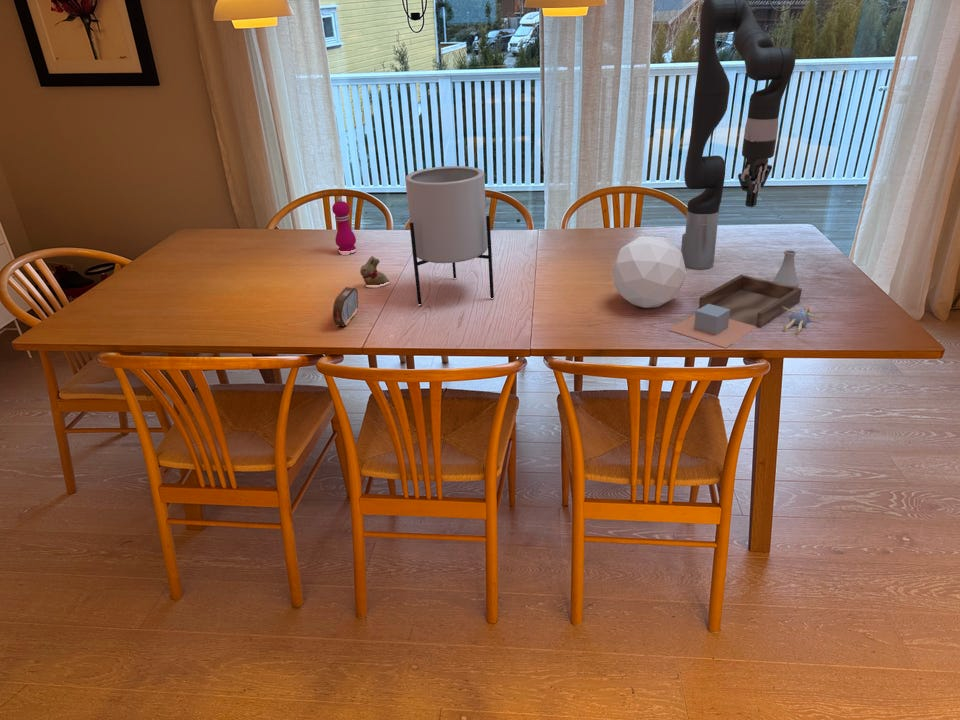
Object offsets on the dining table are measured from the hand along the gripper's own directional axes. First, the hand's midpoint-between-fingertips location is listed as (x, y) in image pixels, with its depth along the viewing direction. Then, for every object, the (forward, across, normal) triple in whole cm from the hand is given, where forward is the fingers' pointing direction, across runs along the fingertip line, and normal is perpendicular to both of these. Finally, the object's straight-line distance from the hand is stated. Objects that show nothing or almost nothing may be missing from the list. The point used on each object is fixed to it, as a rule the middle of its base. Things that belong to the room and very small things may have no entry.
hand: (750, 206), depth 177 cm
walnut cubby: (+26, +2, +4) cm, 27 cm away
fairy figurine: (+27, +5, +19) cm, 33 cm away
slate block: (+26, +20, +4) cm, 33 cm away
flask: (+27, -19, +4) cm, 33 cm away
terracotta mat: (+26, +20, +5) cm, 33 cm away
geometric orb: (+27, +17, -17) cm, 36 cm away
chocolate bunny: (+28, +58, -90) cm, 111 cm away
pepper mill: (+29, +46, -126) cm, 137 cm away
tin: (+27, +79, -74) cm, 111 cm away
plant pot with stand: (+28, +47, -64) cm, 84 cm away
